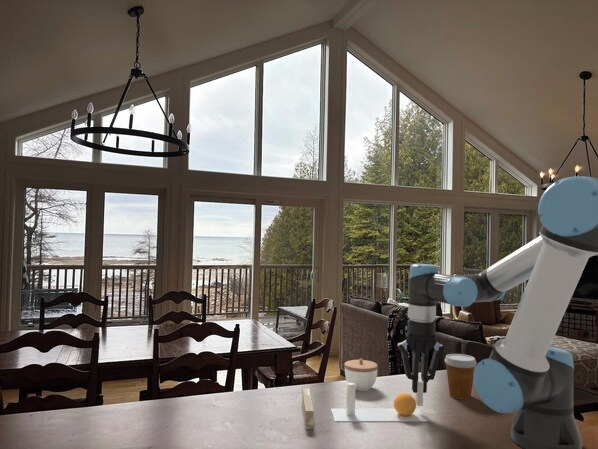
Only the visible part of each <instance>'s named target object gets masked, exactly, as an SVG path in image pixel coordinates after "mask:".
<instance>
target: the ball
mask: <svg viewBox="0 0 598 449" xmlns="http://www.w3.org/2000/svg"><path fill="white" fill-rule="evenodd" d="M393 406H394V408H395V410H396V411H397V412H398V413H399V414H400V415H403V416H409V415H411V414H412V413H413V412H414V411H415V409H417V404H416V402H415V397H413V395H411V394H410V393H408V392H401V393H399V394H397V395H396V396H395V398H394V400H393Z"/></svg>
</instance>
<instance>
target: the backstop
mask: <svg viewBox="0 0 598 449" xmlns="http://www.w3.org/2000/svg"><path fill="white" fill-rule="evenodd" d="M310 392H311V391H310V388H309V387H301V407H302V412H303V413H302V414H303V421H304V428H305V430H309V429H310V430H313V429H314V407H313V402H312V398H311V393H310Z"/></svg>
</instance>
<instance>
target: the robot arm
mask: <svg viewBox="0 0 598 449" xmlns="http://www.w3.org/2000/svg"><path fill="white" fill-rule="evenodd" d="M537 207H538V209H537V212H538V213H537V214H538V216H539V217H540V218H539V219H540V222H541V224H542V225H541V226H540V228H539V232H538V233H539V236H537V237H536V238H534V239H532V240H531V241H529V242H528V243H526V244H524V245H523V246H521V247H520V248H518V249H516V250H514V252H511V253H510V254H508V255H507V256H505V257H503V258H501V259H500V260H498V261H497V262H496V263H493V264H492V265H490V266H489V267H488V268H486V269H484V270H483V271H481V272H479V273H475V274H473V273H472V274H455V275H453V274H443V273H439V272H438V267H437V266H436V265H434V264H429V263H428V264H427V263H413V264H411V265H410V267H409V273H408V274H409V275H408V301H407V302H408V304H407V305H408V306H407V318H408V320H407V331H406V337H405V338H404V339H405V340H404V341H402V342H397V344H396V345H397V347H398V349H399V351H400V354H401V359H402V364H403V369H404V372H405V373H404V374H405V376H406V378H407V379H408V380H411V391H412V392H413V393H414V399H415V402H416V407H418V406H419V407H423V406H424V394H427V391H428V383H429V381H432V380H433V381H434V379H435V376H436V373H437V369H438V365H439V362H440V358H441V355H442V353H443V352H444V351H445V346H444V345H443V344H441V343H439V342H438V340H437V338H436V322H435V320H436V319H437V316H436V315H437V303H443V304H448V305H451V306H453V307H462V308H467V307H470V306H471V305H472V304H474V303H484V302H487V303H491V302H494V301H499V300H500V299H502V298H504V297H505V294H506V292H508V291H509V290H512V289H513V288H515V287H516V286H519V285H521V284H522V283H524V282H526V281H527V283H526V286H525V289H524V291H523V294H522V295H521V299H520V300H519V303H518V306H517V308H516V311H515V314H514V315H513V318H512V321H511V323H510V326H509V328H508V331H507V333H506V336H505V338H502V339H499V340H497V341H495V343H494V346H493V348H492V351H491V353H490V355H489V357H488V358H485V359H482V360H481V361H479V362H478V363H477V364H476V366H475V369H474V374H473V385H474V388H475V389H476V392H477V395H478V396H479V398H480V400H481V401H482V402H483V403H484V404H485V405H486V406H487V407H488V408H489V409H491V410H493V411H494V412H497V413H501V414H508V413H509V414H510V413H515V417H514V418H513V422H512V423H511V424H512V425H511V428H510V437H511V439H512V441H513V442H514V443H515V444H516V445H518V446H519V447H521V448H524V449H583V440H582V436H581V434H580V430H579V428H578V425H577V422H576V420H575V419H576V418H575V416H574V394H575V393H574V384H575V383H574V381H575V380H574V378H575V374H574V372H575V371H574V370H575V366H574V357H573V354H572V353H570V352H569V351H567V350H565V349H561V348H558V347H557V348H556V347H552V346H551V345H552V342H553V340H554V337H555V336H556V333H557V332H558V330H559V329H558V328H559V326H560V324H561V322H562V321H563V320H562V319H563V317H564V316H565V313H566V311H567V309H568V306H569V304H570V302H571V301H572V300H571V299H572V298H573V295H574V292H575V290H576V288H577V285H578V283H579V282H580V279H581V277H582V274H583V271H584V269H585V267H586V265H587V263H588V261H589V258H591V257H593V256H597V255H598V178H596V177H591V176H586V175H582V176H569V177H564V178H561V179H559V180H556V181H555V182H553V183H552V184H551V185H549V186H548V187H547V188H546V190H544V192H543V193H542V195H541V197H540V200H539V201H538V206H537ZM408 347H409V349H410V350H411V354H412V362H411V365H412V366H411V365H410V362H409V357H408V356H409V355H408V352H407V349H408ZM433 348H434V351H433V352H432V357H431V360H430V364H429V357H430V352H431V350H432V349H433ZM420 355H421V363H420ZM420 364H421V365H420ZM419 366H421V370H420V378H419V368H420V367H419ZM411 367H412V368H411Z"/></svg>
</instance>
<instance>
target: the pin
mask: <svg viewBox="0 0 598 449" xmlns="http://www.w3.org/2000/svg"><path fill="white" fill-rule="evenodd" d="M355 387H356V384H355V383H348V382H347V383H346V407H345V408H346V415H348V416H354V415H355V408H356V390H355Z"/></svg>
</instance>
